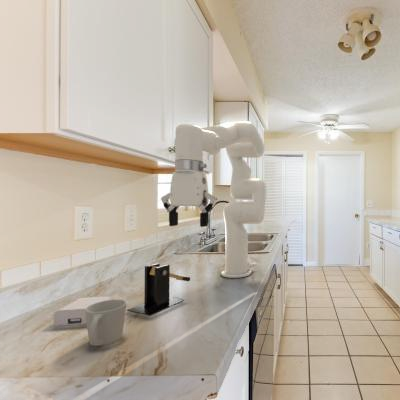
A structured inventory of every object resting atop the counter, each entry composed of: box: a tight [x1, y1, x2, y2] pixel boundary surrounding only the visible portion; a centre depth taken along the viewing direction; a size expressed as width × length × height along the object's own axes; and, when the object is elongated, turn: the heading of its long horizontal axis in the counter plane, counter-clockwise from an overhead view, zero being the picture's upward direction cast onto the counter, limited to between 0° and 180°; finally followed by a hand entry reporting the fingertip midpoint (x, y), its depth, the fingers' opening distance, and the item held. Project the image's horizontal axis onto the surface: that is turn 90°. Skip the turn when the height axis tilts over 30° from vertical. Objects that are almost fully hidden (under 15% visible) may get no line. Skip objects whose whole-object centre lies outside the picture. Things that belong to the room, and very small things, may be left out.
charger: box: [53, 295, 114, 327], centre depth 75 cm, size 5×9×15 cm
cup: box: [85, 298, 127, 347], centre depth 60 cm, size 8×10×8 cm
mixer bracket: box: [126, 262, 185, 317], centre depth 80 cm, size 12×9×13 cm
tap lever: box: [150, 266, 191, 282], centre depth 85 cm, size 13×5×2 cm, turn 158°
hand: (188, 226), depth 80 cm, fingers open, 9 cm apart
